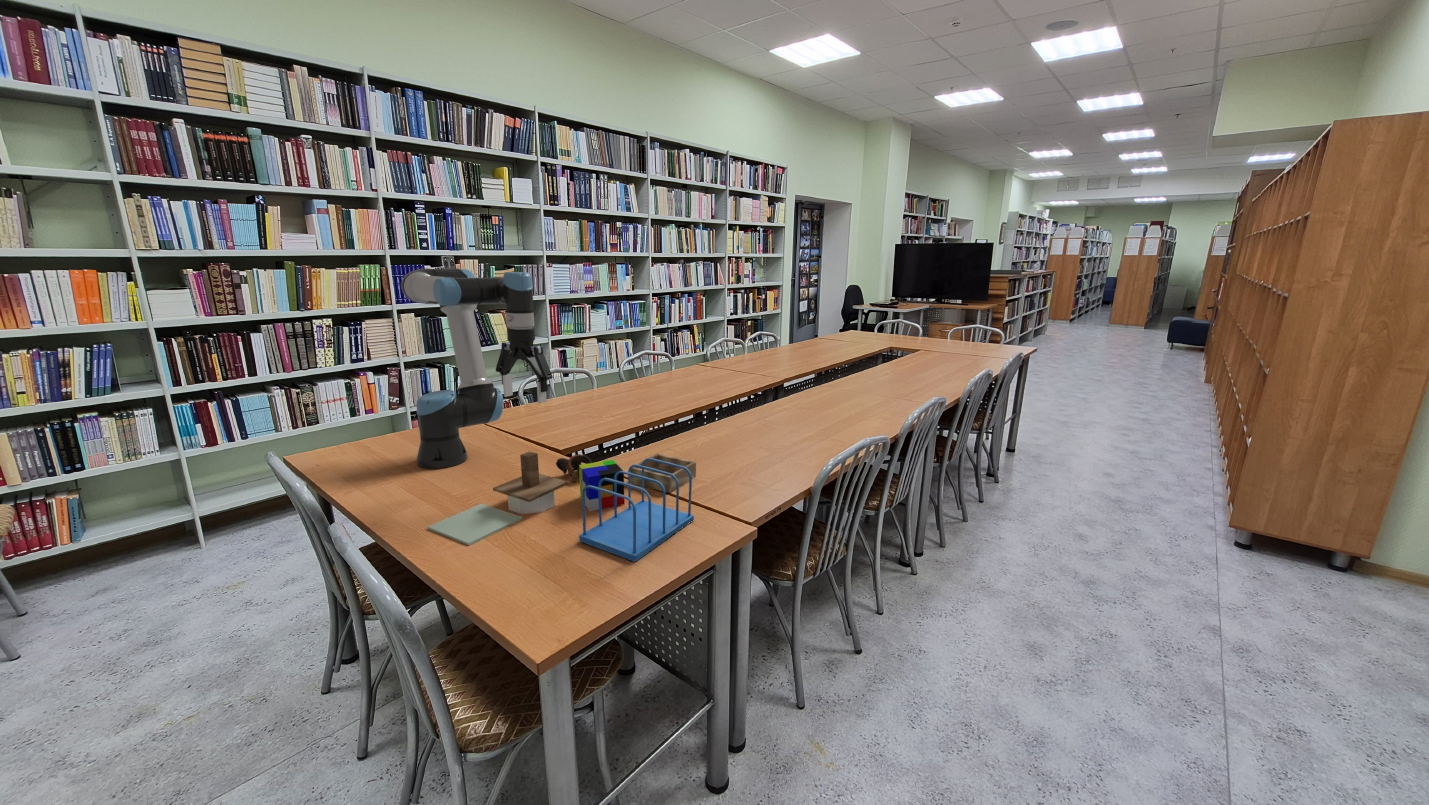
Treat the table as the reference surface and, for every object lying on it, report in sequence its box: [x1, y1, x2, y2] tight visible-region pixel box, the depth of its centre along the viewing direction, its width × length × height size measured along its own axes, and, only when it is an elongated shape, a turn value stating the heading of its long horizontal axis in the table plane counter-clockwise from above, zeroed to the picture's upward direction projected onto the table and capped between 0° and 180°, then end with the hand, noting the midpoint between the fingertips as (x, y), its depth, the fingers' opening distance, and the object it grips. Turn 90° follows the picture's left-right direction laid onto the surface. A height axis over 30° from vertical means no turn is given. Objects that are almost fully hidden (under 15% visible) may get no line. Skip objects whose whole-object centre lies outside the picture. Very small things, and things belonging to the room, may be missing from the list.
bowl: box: [507, 491, 556, 515], centre depth 151 cm, size 12×12×5 cm
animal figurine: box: [555, 453, 593, 483], centre depth 170 cm, size 12×10×8 cm
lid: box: [492, 451, 569, 502], centre depth 149 cm, size 14×14×10 cm
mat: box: [426, 503, 523, 546], centre depth 139 cm, size 16×16×1 cm
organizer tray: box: [631, 453, 697, 494], centre depth 170 cm, size 15×15×5 cm
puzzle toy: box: [579, 459, 626, 512], centre depth 153 cm, size 10×10×10 cm
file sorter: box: [578, 457, 695, 562], centre depth 136 cm, size 25×17×15 cm
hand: (525, 399), depth 160 cm, fingers open, 13 cm apart
